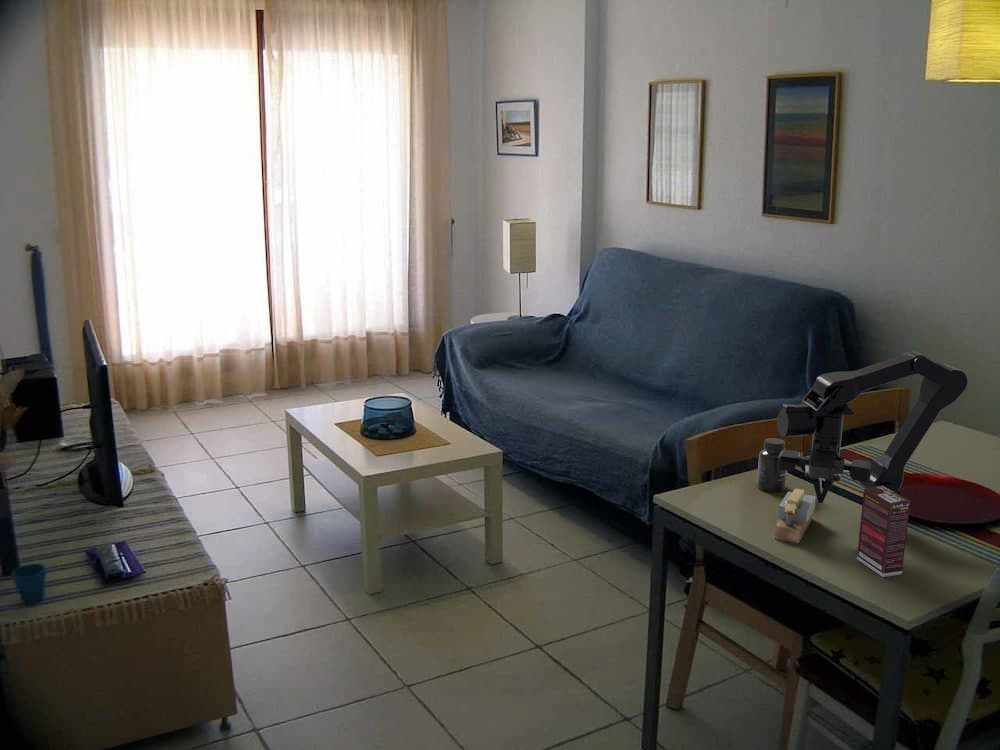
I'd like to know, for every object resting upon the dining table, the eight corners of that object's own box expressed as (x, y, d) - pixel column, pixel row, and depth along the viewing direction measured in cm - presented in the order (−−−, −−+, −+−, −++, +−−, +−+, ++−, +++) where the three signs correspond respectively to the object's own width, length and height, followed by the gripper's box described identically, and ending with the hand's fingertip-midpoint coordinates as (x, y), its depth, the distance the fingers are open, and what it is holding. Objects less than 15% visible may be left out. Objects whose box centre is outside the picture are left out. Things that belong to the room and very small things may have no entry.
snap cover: (814, 508, 214) (815, 496, 213) (806, 524, 206) (807, 511, 205) (787, 503, 217) (788, 491, 216) (777, 518, 209) (778, 505, 208)
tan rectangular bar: (804, 498, 211) (805, 490, 210) (795, 514, 203) (795, 505, 203) (793, 496, 212) (793, 488, 211) (783, 511, 204) (784, 503, 204)
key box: (812, 519, 216) (814, 493, 214) (798, 543, 204) (801, 516, 202) (789, 514, 218) (791, 489, 216) (774, 538, 206) (776, 511, 205)
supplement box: (903, 574, 190) (912, 500, 186) (882, 578, 189) (891, 503, 185) (875, 555, 198) (883, 484, 194) (855, 558, 197) (862, 487, 193)
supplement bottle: (786, 494, 229) (790, 447, 226) (757, 492, 231) (760, 445, 227) (784, 483, 236) (788, 437, 233) (755, 481, 237) (759, 435, 234)
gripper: (775, 439, 200) (770, 509, 204) (871, 452, 192) (863, 524, 196) (784, 424, 209) (778, 490, 214) (875, 435, 202) (867, 504, 206)
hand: (820, 502), depth 207 cm, fingers closed
